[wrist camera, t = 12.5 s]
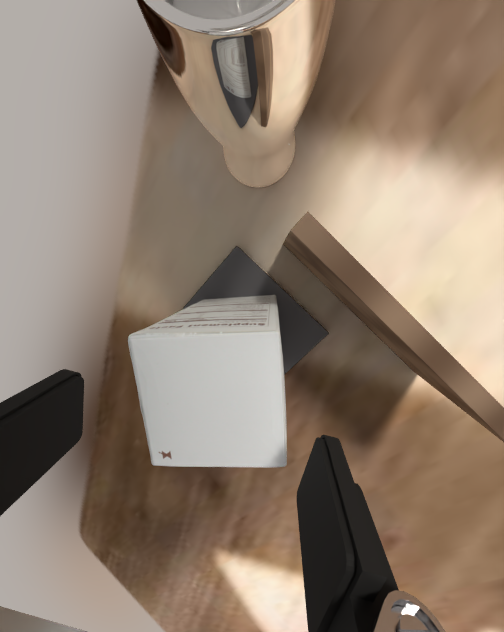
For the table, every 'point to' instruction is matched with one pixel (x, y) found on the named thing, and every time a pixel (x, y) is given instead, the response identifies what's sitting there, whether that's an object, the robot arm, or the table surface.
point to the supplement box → (213, 385)
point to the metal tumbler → (244, 72)
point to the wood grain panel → (391, 321)
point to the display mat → (250, 280)
